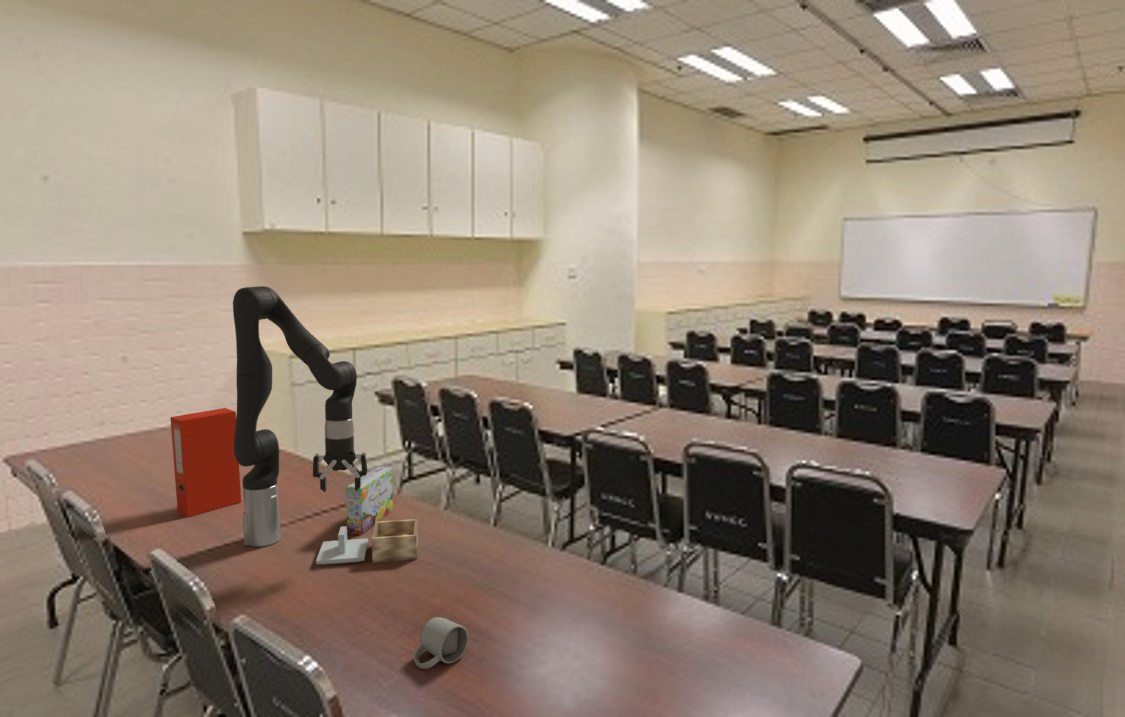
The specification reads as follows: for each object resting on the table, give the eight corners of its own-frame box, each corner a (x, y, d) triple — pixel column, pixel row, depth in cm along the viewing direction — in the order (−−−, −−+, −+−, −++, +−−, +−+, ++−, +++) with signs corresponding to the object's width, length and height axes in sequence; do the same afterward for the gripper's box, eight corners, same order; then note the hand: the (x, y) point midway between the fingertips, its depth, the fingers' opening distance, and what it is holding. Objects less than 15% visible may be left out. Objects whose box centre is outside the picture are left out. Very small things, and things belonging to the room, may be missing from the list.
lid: (316, 568, 182) (315, 541, 181) (323, 548, 194) (322, 523, 193) (364, 564, 185) (363, 538, 183) (368, 545, 197) (367, 520, 196)
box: (372, 562, 185) (371, 538, 184) (376, 544, 197) (375, 521, 196) (416, 559, 187) (416, 535, 186) (417, 541, 199) (417, 519, 198)
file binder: (241, 502, 228) (235, 411, 223) (188, 517, 215) (180, 420, 210) (230, 497, 233) (224, 407, 228) (177, 511, 220) (169, 416, 215)
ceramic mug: (444, 639, 149) (443, 607, 148) (469, 653, 144) (468, 620, 142) (405, 662, 141) (403, 628, 140) (430, 677, 136) (429, 643, 134)
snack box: (363, 535, 203) (361, 488, 201) (346, 534, 204) (344, 486, 202) (394, 510, 224) (393, 466, 221) (378, 508, 225) (377, 465, 222)
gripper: (309, 438, 179) (311, 496, 182) (364, 437, 182) (366, 494, 184) (314, 431, 186) (316, 486, 189) (367, 429, 189) (368, 484, 192)
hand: (340, 490), depth 187 cm, fingers open, 8 cm apart
